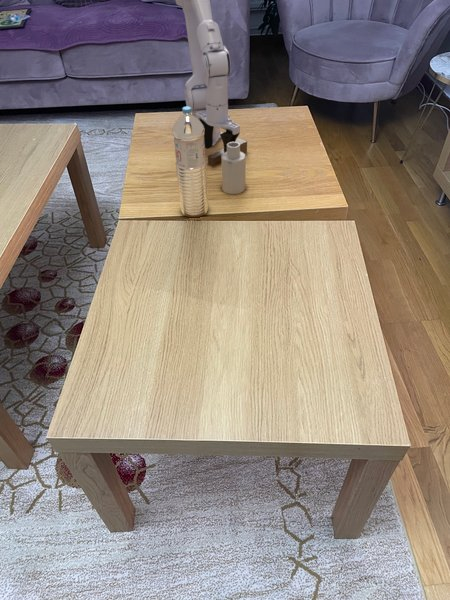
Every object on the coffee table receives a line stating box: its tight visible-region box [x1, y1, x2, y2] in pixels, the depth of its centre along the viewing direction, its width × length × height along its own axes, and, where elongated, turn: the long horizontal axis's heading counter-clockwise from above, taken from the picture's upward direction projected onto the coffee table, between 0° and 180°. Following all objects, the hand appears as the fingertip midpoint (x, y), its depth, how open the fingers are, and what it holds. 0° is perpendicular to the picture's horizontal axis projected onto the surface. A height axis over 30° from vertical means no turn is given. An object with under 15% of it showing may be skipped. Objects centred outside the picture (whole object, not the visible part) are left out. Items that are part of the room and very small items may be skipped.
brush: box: [207, 137, 248, 168], centre depth 129 cm, size 6×12×4 cm, turn 137°
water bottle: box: [172, 105, 209, 218], centre depth 102 cm, size 7×7×25 cm
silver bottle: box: [220, 142, 247, 195], centre depth 114 cm, size 6×6×12 cm
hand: (218, 151), depth 126 cm, fingers open, 7 cm apart
